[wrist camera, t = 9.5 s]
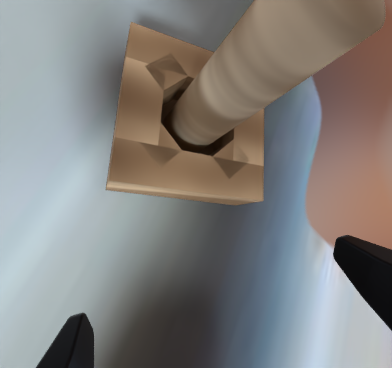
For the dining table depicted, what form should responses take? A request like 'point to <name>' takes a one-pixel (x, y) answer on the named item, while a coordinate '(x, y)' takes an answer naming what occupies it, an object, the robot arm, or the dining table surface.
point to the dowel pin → (267, 62)
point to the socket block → (163, 142)
